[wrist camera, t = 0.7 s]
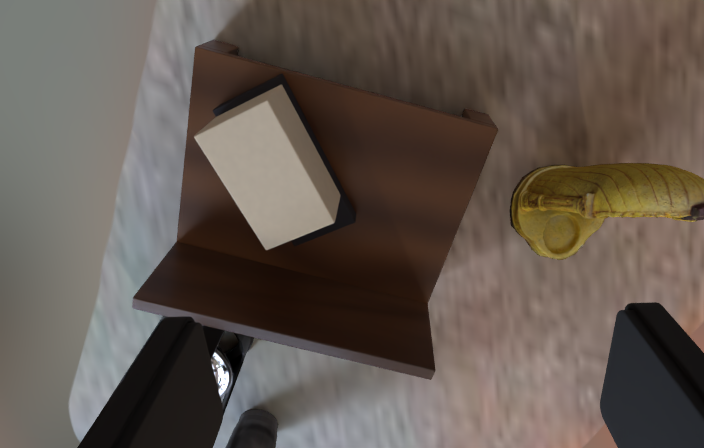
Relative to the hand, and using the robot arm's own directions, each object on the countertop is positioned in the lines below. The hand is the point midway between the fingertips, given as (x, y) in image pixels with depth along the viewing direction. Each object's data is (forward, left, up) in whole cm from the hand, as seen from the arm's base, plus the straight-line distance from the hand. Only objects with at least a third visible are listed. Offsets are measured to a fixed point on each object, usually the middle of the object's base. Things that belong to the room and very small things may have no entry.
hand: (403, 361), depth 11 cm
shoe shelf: (+9, -3, -30) cm, 32 cm away
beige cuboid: (+7, -6, -26) cm, 28 cm away
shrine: (+4, +16, -30) cm, 34 cm away
